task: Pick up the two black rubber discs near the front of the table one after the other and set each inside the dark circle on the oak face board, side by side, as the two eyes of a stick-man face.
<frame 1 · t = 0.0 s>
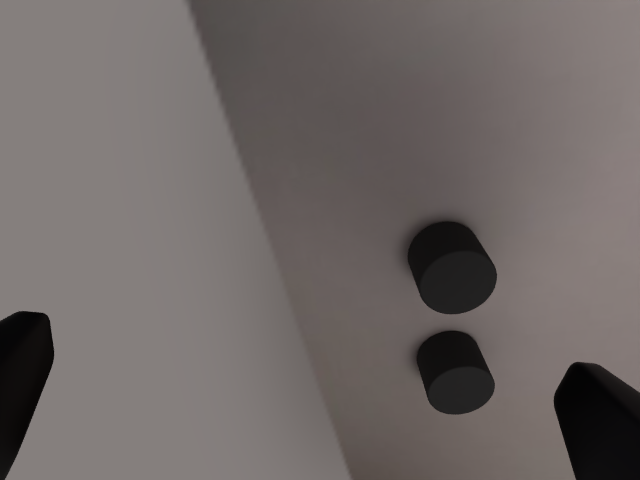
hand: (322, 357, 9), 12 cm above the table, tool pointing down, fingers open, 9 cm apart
dot b: (447, 354, 26), on the table
dot a: (442, 252, 22), on the table
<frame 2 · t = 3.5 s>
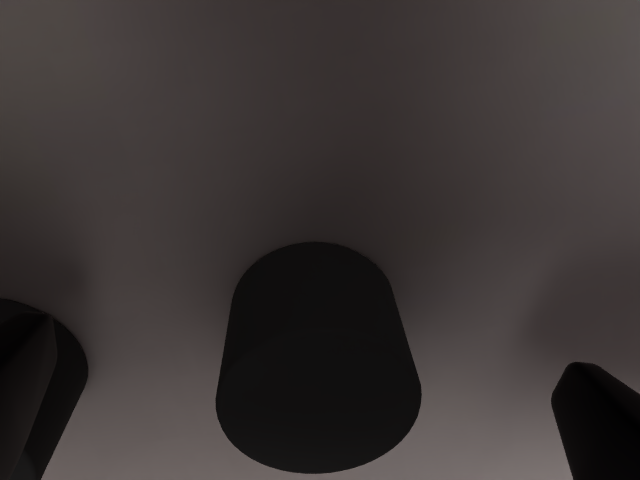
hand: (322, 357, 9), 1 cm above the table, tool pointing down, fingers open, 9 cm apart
dot b: (6, 359, 10), on the table, touching gripper
dot a: (313, 310, 10), on the table
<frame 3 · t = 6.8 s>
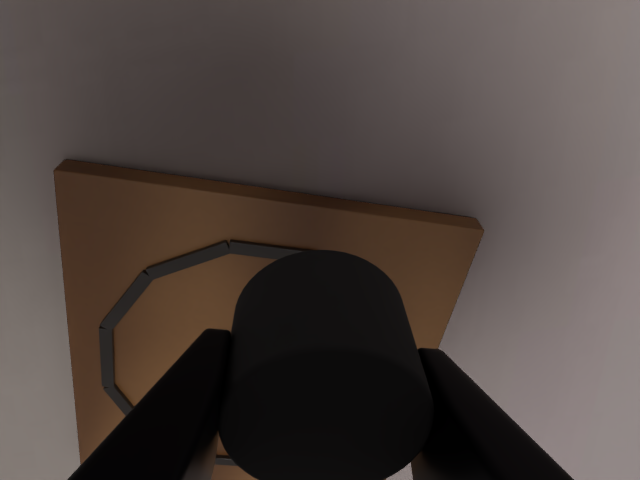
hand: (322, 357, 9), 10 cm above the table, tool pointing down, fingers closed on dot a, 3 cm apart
face board: (256, 353, 22), on the table
dot a: (319, 319, 9), point 9 cm above the table, touching gripper
when the fingers open (2 cm above the table, at t = 9.6 s): dot a stays where it is, resting on face board.
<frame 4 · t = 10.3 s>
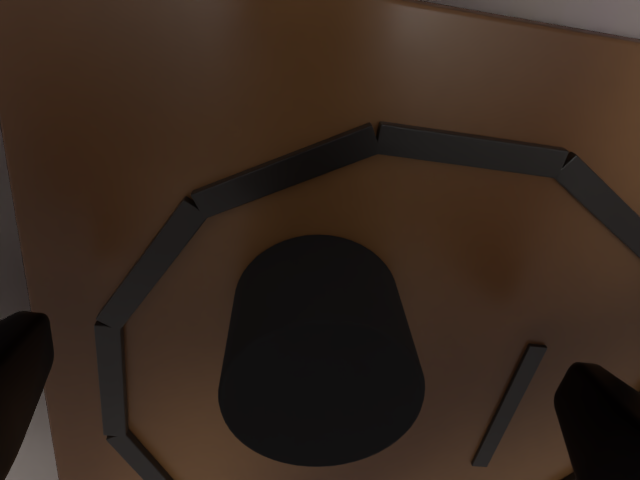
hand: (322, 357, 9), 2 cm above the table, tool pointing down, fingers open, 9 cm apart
face board: (381, 367, 12), on the table
dot a: (316, 303, 10), point 1 cm above the table, touching face board
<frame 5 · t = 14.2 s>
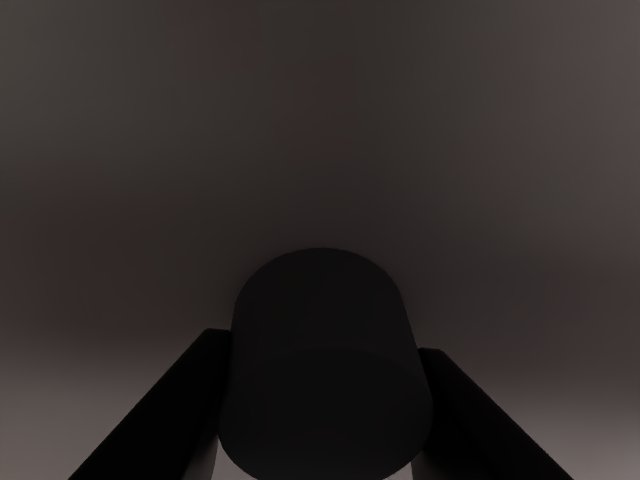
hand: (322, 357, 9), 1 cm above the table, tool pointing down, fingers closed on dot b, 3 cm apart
dot b: (318, 318, 9), on the table, touching gripper
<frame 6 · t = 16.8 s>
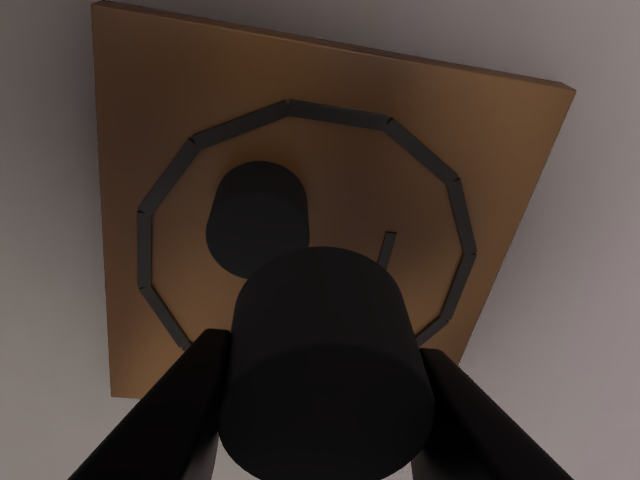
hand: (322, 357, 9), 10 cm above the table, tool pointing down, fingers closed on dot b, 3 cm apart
dot b: (319, 317, 9), point 9 cm above the table, touching gripper
face board: (306, 253, 20), on the table
dot a: (261, 202, 17), point 1 cm above the table, touching face board
when the fingers open (2 cm above the table, at t = 19.6 s): dot b stays where it is, resting on face board.
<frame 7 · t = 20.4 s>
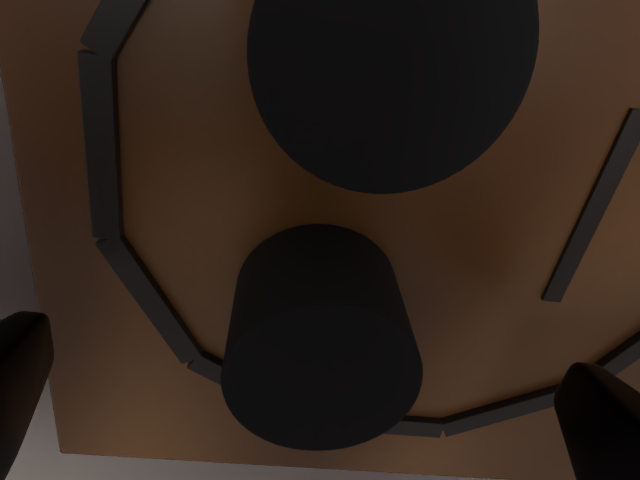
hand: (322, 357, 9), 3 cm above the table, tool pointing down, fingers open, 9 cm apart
dot b: (316, 292, 10), point 1 cm above the table, touching face board
face board: (434, 174, 10), on the table
dot a: (365, 31, 8), point 1 cm above the table, touching face board
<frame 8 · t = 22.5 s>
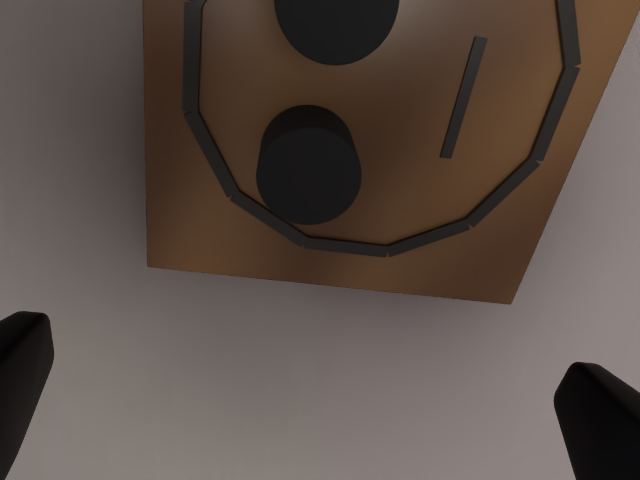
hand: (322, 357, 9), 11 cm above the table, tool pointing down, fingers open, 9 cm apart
dot b: (307, 150, 17), point 1 cm above the table, touching face board
face board: (375, 81, 17), on the table
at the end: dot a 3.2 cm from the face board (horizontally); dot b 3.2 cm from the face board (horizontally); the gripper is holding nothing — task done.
